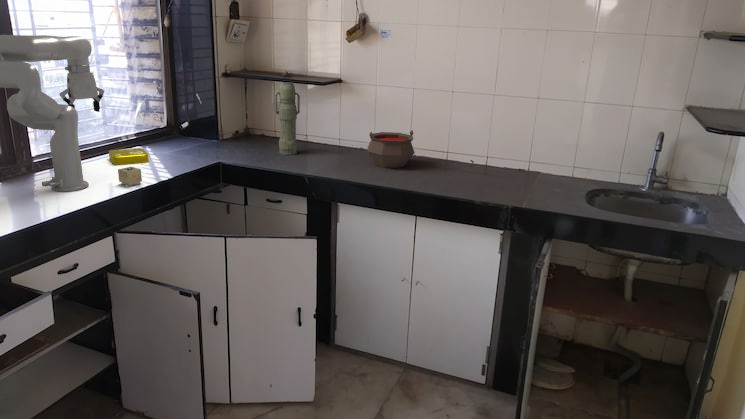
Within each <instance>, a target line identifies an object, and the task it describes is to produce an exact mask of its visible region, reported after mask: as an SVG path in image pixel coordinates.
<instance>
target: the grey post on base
mask: <svg viewBox="0 0 745 419" xmlns="http://www.w3.org/2000/svg"><path fill="white" fill-rule="evenodd" d="M126 168H127V167H126ZM127 170H128V171H129V170H132V168H127ZM120 183H121V185H123V186H127V187H132V186H133V187H134V186H136V185H140V184H141V182H137V183H132V184H125V183H122V182H120Z"/></svg>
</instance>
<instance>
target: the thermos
mask: <svg viewBox="0 0 745 419" xmlns="http://www.w3.org/2000/svg"><path fill="white" fill-rule="evenodd" d="M278 95H279V106H278ZM296 96H297V105H296ZM300 97H301V95H300V94H299V93H298V92H296V88H295V84H294V83H293V82H291V81H290V82H289V81H287V82H285V81H284V82H282V83H280V86H279V91H277V92H276V93H275V94H274V98H275V99H274V100H275V102H274V103H275V105H274V106H275V114H277V115H278V119H279V141H278V150H279V152H278V154H280V155H283V156H295V155H297V153H298V152H297V151H298V150H297V149H298V142H297V124H296V123H297V119H298V118H297V117H298V116H297V115H298V114H300V111H301V110H300V108H301V107H300V104H301V103H300V102H301V100H300V99H301V98H300Z"/></svg>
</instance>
